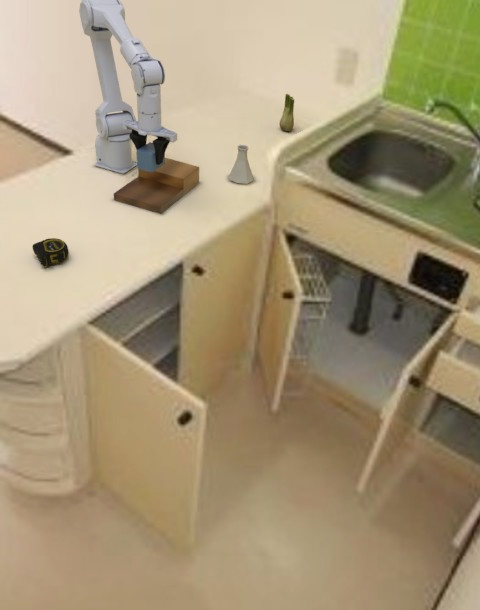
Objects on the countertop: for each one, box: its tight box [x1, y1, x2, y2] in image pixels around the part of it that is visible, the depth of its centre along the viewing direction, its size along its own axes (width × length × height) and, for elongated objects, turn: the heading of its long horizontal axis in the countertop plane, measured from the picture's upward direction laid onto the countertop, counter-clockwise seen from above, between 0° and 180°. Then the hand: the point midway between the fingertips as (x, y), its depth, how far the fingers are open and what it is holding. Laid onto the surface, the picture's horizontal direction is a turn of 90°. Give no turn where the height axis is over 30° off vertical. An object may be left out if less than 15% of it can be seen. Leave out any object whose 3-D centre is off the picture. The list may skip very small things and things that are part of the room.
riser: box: [113, 157, 200, 215], centre depth 175 cm, size 14×21×5 cm, turn 161°
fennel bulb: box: [279, 93, 295, 132], centre depth 219 cm, size 6×5×12 cm
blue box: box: [136, 141, 166, 172], centre depth 167 cm, size 4×6×5 cm
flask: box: [228, 144, 254, 185], centre depth 186 cm, size 7×7×10 cm
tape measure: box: [32, 237, 70, 267], centre depth 144 cm, size 7×7×4 cm
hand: (151, 161), depth 168 cm, fingers closed on blue box, 4 cm apart
